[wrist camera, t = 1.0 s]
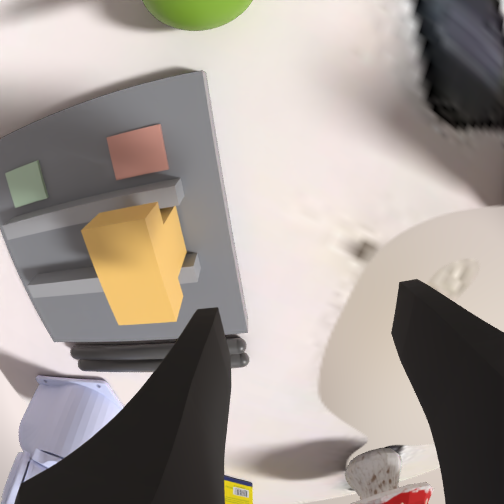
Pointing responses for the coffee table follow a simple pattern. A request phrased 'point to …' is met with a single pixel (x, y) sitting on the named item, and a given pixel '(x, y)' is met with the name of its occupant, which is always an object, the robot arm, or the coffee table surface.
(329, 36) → the coffee table surface
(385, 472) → the decorative mushroom
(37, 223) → the panel
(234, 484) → the supplement box
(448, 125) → the coffee table surface
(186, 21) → the snail figurine
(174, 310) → the toggle knob
